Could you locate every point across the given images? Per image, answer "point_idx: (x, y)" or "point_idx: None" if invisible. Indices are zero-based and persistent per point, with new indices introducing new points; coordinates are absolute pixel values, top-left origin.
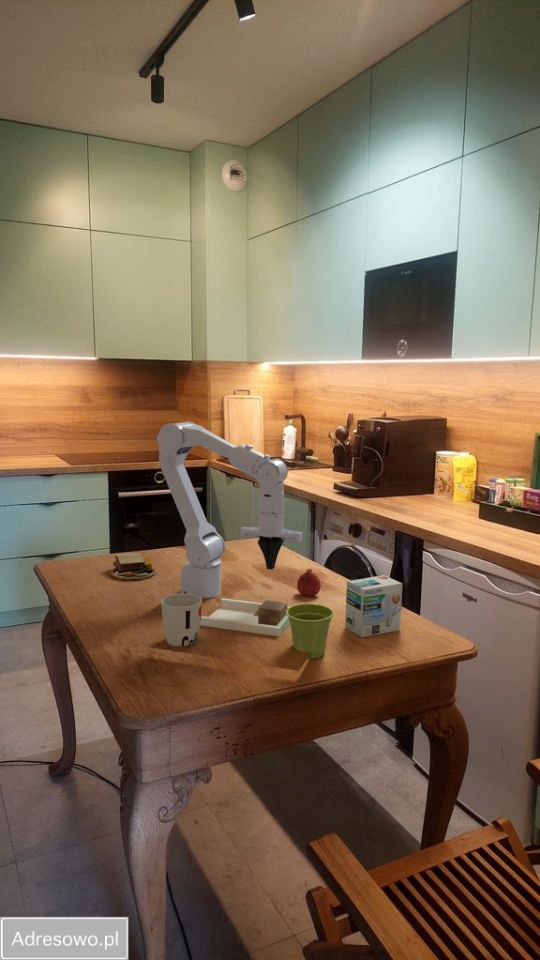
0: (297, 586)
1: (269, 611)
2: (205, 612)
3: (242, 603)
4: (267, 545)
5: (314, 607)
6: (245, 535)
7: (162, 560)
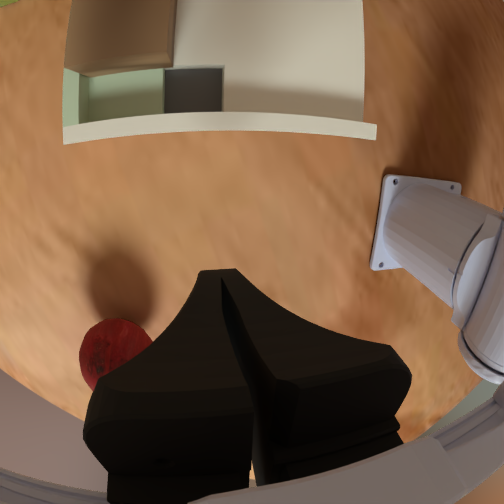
0: (147, 343)
1: None
2: (390, 116)
3: (292, 114)
4: (264, 379)
5: None
6: (501, 394)
7: None
